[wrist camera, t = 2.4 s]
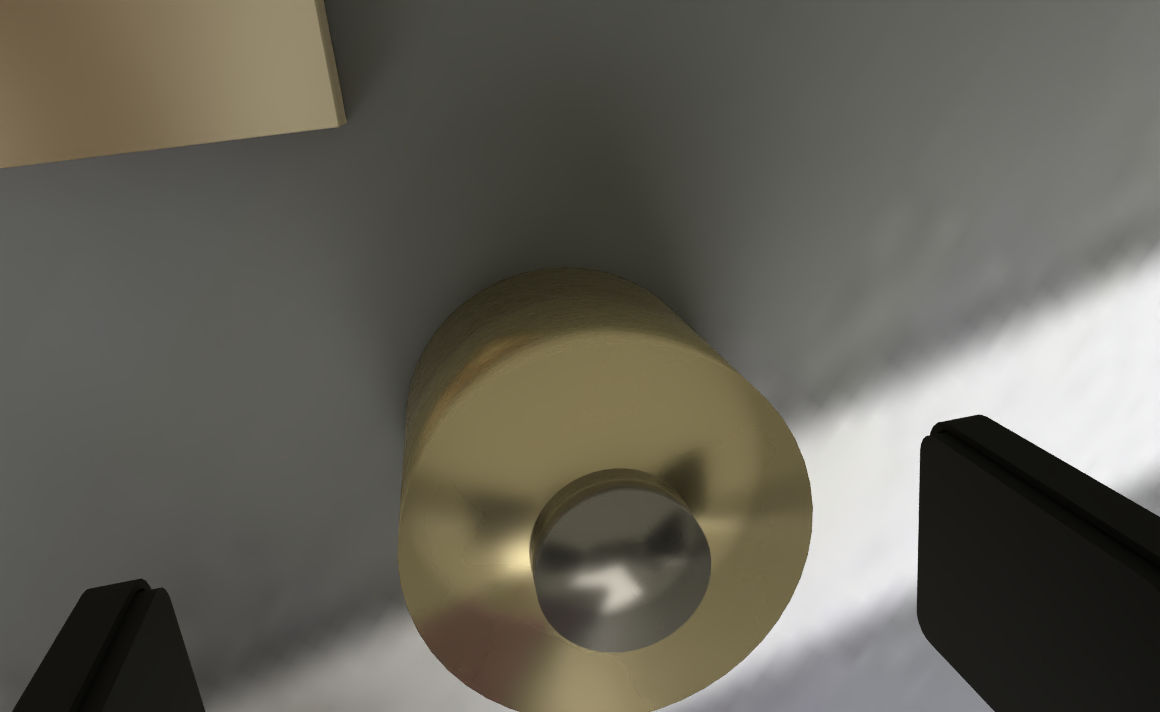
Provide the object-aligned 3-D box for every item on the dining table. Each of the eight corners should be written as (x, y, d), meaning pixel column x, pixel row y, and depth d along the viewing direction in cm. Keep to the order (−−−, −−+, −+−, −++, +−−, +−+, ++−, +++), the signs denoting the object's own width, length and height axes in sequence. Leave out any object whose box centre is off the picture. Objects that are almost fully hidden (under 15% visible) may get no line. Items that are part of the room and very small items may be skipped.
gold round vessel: (698, 245, 16) (831, 326, 11) (718, 523, 18) (840, 710, 13) (379, 293, 16) (353, 405, 10) (434, 578, 18) (438, 800, 12)
